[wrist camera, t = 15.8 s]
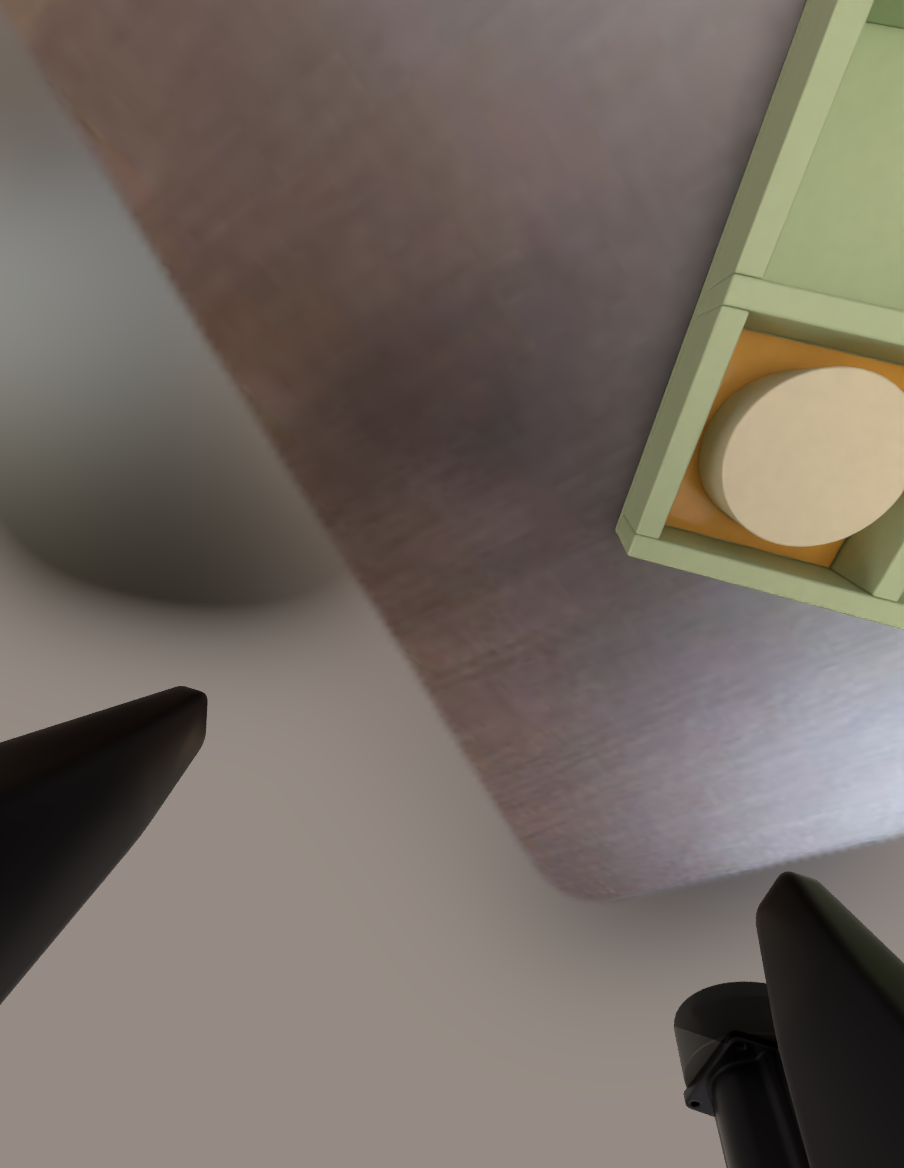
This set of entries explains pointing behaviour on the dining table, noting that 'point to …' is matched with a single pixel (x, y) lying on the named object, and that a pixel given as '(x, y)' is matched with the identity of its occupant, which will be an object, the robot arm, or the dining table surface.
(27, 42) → the dining table surface
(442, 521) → the dining table surface
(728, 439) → the cylinder
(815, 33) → the grid
